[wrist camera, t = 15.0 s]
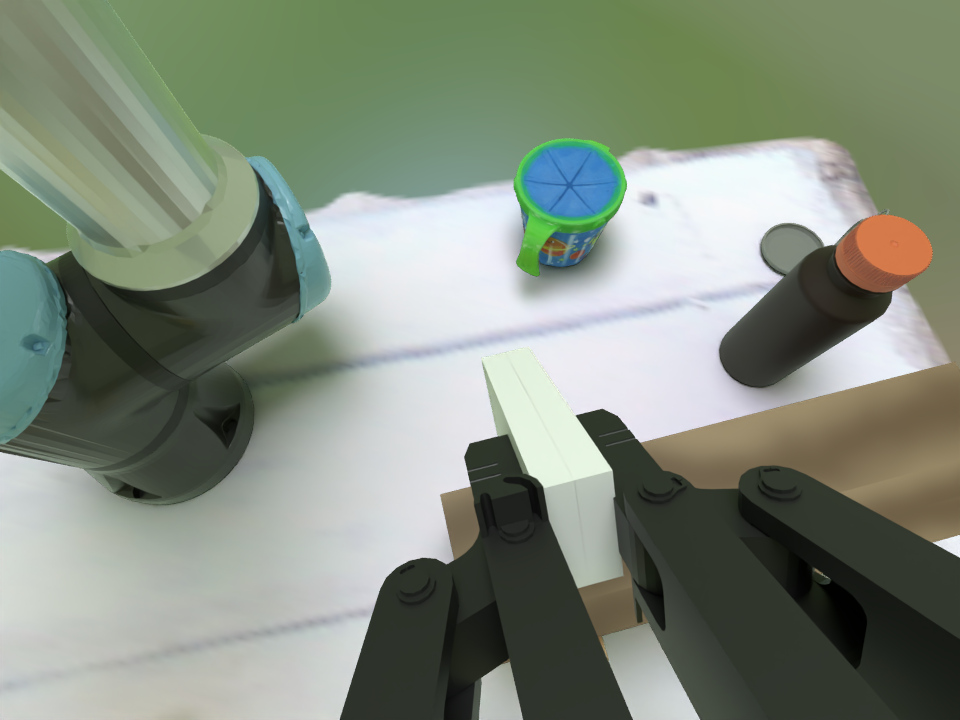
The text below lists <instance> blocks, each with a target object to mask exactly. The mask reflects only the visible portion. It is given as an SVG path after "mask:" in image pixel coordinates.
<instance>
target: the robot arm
mask: <svg viewBox="0 0 960 720" xmlns="http://www.w3.org/2000/svg"><path fill="white" fill-rule="evenodd" d="M0 169H1V170H2V171H4V172H5V173H6V174H8V175H9V176H10V177H11V178H12V179H14V180H15V181H16V182H18V183H19V184H20V185H21V186H23V187H24V188H25V189H26V190H28V191H29V192H30V193H32V194H33V195H34V196H35V197H37V198H38V199H39V200H40V201H42V202H43V203H44V204H45V205H47V206H48V207H49V208H51V209H52V210H53V211H54V212H56V213H57V214H58V215H60V216H61V217H62V218H63V219H65V220H66V221H67V237H68V242H69V246H70V248H71V251H69V252H67V253H65V254H63V255H61V256H59V257H58V258H56V259H54V260H52V261H50V262H48V263H46V264H45V263H44V262H43V261H41V260H39V259H37V258H36V257H33V256H31V255H29V254H23V253H19V252H16V251H12V250H4V251H2V252H1V251H0V452H3V453H8V454H13V455H18V456H23V457H28V458H33V459H38V460H43V461H48V462H53V463H58V464H63V465H68V466H73V467H78V468H83V469H84V470H85V471H87V472H88V473H89V474H90V475H91V476H92V477H94V478H95V479H96V480H97V481H98V482H99V483H101V484H102V485H103V486H104V487H105V488H107V489H108V490H109V491H111V492H112V493H114V494H116V495H118V496H120V497H122V498H125V499H128V500H132V501H137V502H143V503H149V504H160V505H163V504H173V503H178V502H182V501H186V500H189V499H191V498H194V497H196V496H198V495H200V494H202V493H204V492H206V491H207V490H209V489H210V488H212V487H213V486H215V485H216V484H217V483H219V482H220V481H221V480H222V479H223V478H224V477H225V476H226V475H227V474H228V473H229V472H230V471H231V470H232V469H233V467H234V466H235V465H236V464H237V462H238V461H239V459H240V458H241V456H242V454H243V452H244V451H245V448H246V446H247V444H248V442H249V439H250V436H251V432H252V427H253V420H254V408H253V401H252V397H251V394H250V391H249V389H248V387H247V385H246V383H245V382H244V380H243V379H242V377H241V376H240V375H239V374H238V373H237V372H236V371H235V370H234V369H232V368H231V367H230V366H228V365H227V364H225V363H224V362H225V361H227V360H228V359H230V358H232V357H234V356H235V355H237V354H239V353H241V352H242V351H244V350H246V349H247V348H249V347H251V346H253V345H254V344H256V343H258V342H260V341H261V340H263V339H265V338H267V337H268V336H270V335H272V334H273V333H275V332H277V331H279V330H280V329H282V328H284V327H286V326H287V325H289V324H291V323H295V322H297V321H299V320H300V319H301V318H302V317H303V315H304V314H305V313H306V312H308V311H309V310H311V309H312V308H314V307H315V306H317V305H318V304H320V303H321V302H323V301H324V300H325V299H326V297H327V296H328V294H329V292H330V289H331V276H330V271H329V268H328V265H327V262H326V259H325V256H324V254H323V251H322V249H321V247H320V244H319V242H318V240H317V238H316V236H315V234H314V233H313V231H312V230H311V229H310V227H309V223H308V221H307V219H306V216H305V214H304V212H303V210H302V208H301V206H300V205H299V203H298V201H297V199H296V198H295V196H294V194H293V193H292V191H291V189H290V188H289V186H288V185H287V183H286V181H285V180H284V179H283V177H282V176H281V174H280V173H279V172H278V171H277V170H276V168H275V167H274V166H273V164H272V163H271V162H270V161H268V160H267V159H266V158H264V157H261V156H253V157H250V158H248V157H244V156H243V155H242V154H241V153H240V152H239V151H238V150H236V149H235V148H234V147H233V146H231V145H230V144H228V143H226V142H224V141H222V140H220V139H218V138H215V137H212V136H209V135H204V134H199V132H198V131H197V129H196V128H195V126H194V125H193V123H192V122H191V121H190V119H189V118H188V116H187V115H186V113H185V112H184V110H183V109H182V108H181V106H180V105H179V103H178V102H177V101H176V99H175V98H174V96H173V95H172V93H171V92H170V90H169V89H168V88H167V86H166V85H165V83H164V82H163V80H162V79H161V78H160V76H159V74H158V73H157V72H156V70H155V69H154V67H153V66H152V64H151V63H150V61H149V60H148V59H147V57H146V56H145V54H144V53H143V51H142V50H141V49H140V47H139V46H138V44H137V43H136V41H135V40H134V38H133V37H132V35H131V34H130V33H129V31H128V30H127V28H126V27H125V26H124V24H123V23H122V21H121V20H120V18H119V17H118V15H117V14H116V12H115V11H114V9H113V8H112V7H111V5H110V4H109V3H108V1H107V0H0ZM481 359H482V364H483V369H484V374H485V378H486V383H487V388H488V393H489V397H490V402H491V407H492V412H493V417H494V421H495V426H496V431H497V435H498V437H494V438H490V439H486V440H482V441H478V442H474V443H470V444H469V447H468V449H467V452H466V454H465V456H464V458H465V462H466V467H467V471H468V476H469V480H470V485H471V489H472V493H473V498H474V508H475V512H476V516H477V520H478V524H479V534H478V537H477V539H476V541H475V543H474V544H473V546H472V547H471V548H470V549H469V550H468V551H467V552H466V553H465V554H463V555H462V556H460V557H459V558H457V559H456V560H454V561H452V562H450V563H449V564H447V565H446V564H445V563H443V562H441V561H439V560H437V559H431V558H420V559H416V560H411V561H408V562H406V563H405V564H403V565H401V566H399V567H397V568H396V569H395V570H394V571H393V572H392V573H391V574H390V575H389V576H388V577H387V578H386V579H385V581H384V583H383V585H382V587H381V589H380V591H379V595H378V598H377V601H376V604H375V607H374V611H373V614H372V617H371V620H370V624H369V627H368V630H367V633H366V636H365V640H364V643H363V646H362V649H361V653H360V656H359V659H358V662H357V665H356V669H355V672H354V675H353V678H352V682H351V685H350V688H349V691H348V694H347V698H346V701H345V704H344V707H343V711H342V714H341V717H340V720H479V707H480V694H481V677H483V676H484V675H486V674H487V673H489V672H490V671H492V670H493V669H495V668H496V667H498V666H499V665H501V664H502V663H504V662H505V661H507V660H508V659H510V663H511V668H512V672H513V677H514V681H515V685H516V690H517V694H518V699H519V703H520V707H521V712H522V716H523V720H633V719H632V717H631V714H630V712H629V710H628V707H627V705H626V702H625V700H624V698H623V695H622V693H621V690H620V688H619V686H618V683H617V681H616V679H615V676H614V674H613V671H612V669H611V667H610V664H609V662H608V659H607V657H606V655H605V652H604V650H603V648H602V645H601V643H600V640H599V638H598V636H597V633H596V631H595V628H594V626H593V624H592V621H591V619H590V617H589V614H588V612H587V609H586V607H585V605H584V602H583V600H582V597H581V595H580V593H579V590H578V588H581V587H584V586H588V585H592V584H595V583H599V582H602V581H606V580H610V579H613V578H617V577H621V576H624V575H623V565H622V558H623V560H624V562H625V564H626V566H627V567H628V569H629V571H630V573H631V579H632V589H633V600H634V610H635V616H636V620H637V623H641V622H643V619H642V611H643V613H644V615H645V617H646V618H647V620H648V622H649V624H650V626H651V628H652V630H653V632H654V634H655V635H656V637H657V639H658V641H659V643H660V645H661V647H662V649H663V650H664V652H665V654H666V656H667V658H668V660H669V662H670V664H671V665H672V667H673V669H674V671H675V673H676V675H677V677H678V679H679V681H680V682H681V684H682V686H683V688H684V690H685V692H686V694H687V696H688V697H689V699H690V701H691V703H692V705H693V707H694V709H695V711H696V712H697V714H698V716H699V718H700V720H960V558H959V557H957V556H956V555H954V554H952V553H950V552H948V551H946V550H944V549H943V548H941V547H939V546H937V545H935V544H933V543H932V542H930V541H928V540H926V539H924V538H922V537H921V536H919V535H917V534H915V533H913V532H911V531H910V530H908V529H906V528H904V527H902V526H900V525H898V524H897V523H895V522H893V521H891V520H889V519H887V518H886V517H884V516H882V515H880V514H878V513H876V512H875V511H873V510H871V509H869V508H867V507H865V506H864V505H862V504H860V503H858V502H856V501H854V500H852V499H851V498H849V497H847V496H845V495H843V494H841V493H840V492H838V491H836V490H834V489H832V488H830V487H829V486H827V485H825V484H823V483H821V482H819V481H818V480H816V479H814V478H812V477H810V476H808V475H806V474H804V473H802V472H799V471H797V470H794V469H792V468H787V467H782V466H776V465H772V466H759V467H755V468H752V469H749V470H747V471H746V472H745V473H744V474H742V475H741V477H740V480H739V484H738V488H737V489H700V488H695V487H694V486H693V485H692V484H691V483H690V482H689V481H688V480H686V479H685V478H684V477H683V476H681V475H678V474H675V473H673V472H670V471H663V470H662V469H661V467H660V466H659V465H658V464H657V463H656V461H655V460H654V459H653V458H652V457H651V455H650V454H649V453H648V452H647V451H646V449H645V448H644V447H643V446H642V445H641V443H640V442H639V441H638V440H637V439H635V436H634V435H633V434H632V433H631V431H630V430H628V429H627V427H626V425H625V424H624V423H623V422H622V421H621V419H620V418H619V417H618V416H616V415H614V414H612V413H610V412H608V411H606V410H604V409H600V410H596V411H592V412H588V413H584V414H580V415H576V416H575V414H574V413H573V411H572V410H571V408H570V407H569V405H568V404H567V402H566V401H565V399H564V398H563V397H562V395H561V394H560V392H559V391H558V389H557V388H556V386H555V385H554V383H553V382H552V380H551V379H550V377H549V376H548V374H547V373H546V371H545V370H544V368H543V367H542V365H541V364H540V363H539V361H538V360H537V358H536V357H535V355H534V354H533V352H532V351H531V349H530V348H529V347H525V348H521V349H517V350H513V351H509V352H505V353H500V354H496V355H492V356H488V357H484V358H481ZM815 568H816V569H817V570H818V571H820V572H821V573H823V574H824V575H826V576H827V577H828V578H830V579H828V578H826V577H824V576H822V575H820V574H819V573H817V572H816V571H815Z"/></svg>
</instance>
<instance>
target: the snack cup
mask: <svg viewBox="0 0 960 720" xmlns="http://www.w3.org/2000/svg"><path fill="white" fill-rule="evenodd" d="M609 150H610V148H608V147H606V146H605V145H603V144H600V143H598V142H595V141H592V140H587V141H584V140H579V139H557V140H553V141H549V142H546V143H544V144H541V145H539V146H537V147H536V148H534V149H533V150H532V151H530V152H529V153H528V154H527V155H526V156H525V157H524V158H523V160H522V162H521V163H520V165H519V168H518V170H517V174H516V177H515V178H514V190H515V193H516V196H517V199H518V202H519V204H520V207H521V213H522V219H523V228H524V238H523V242H522V246H521V251H520V254H519V256H518V258H517V260H516V263H517V266H518V267H519V268H521V269H522V270H523V271H525V272H527V273H529V274H531V275H533V276H539V275H540V272H539V261H540V263H542V264H545V265H551V266H558V267H566V266H569V265H576V264H577V263H579V262H580V261H581V260H582V259H583V258H585V257H586V256H587V255H588V253H589V252H590V251H591V249H592V248H593V246H594V244H595V243H596V241H597V239H598V238H599V236H600V234H601V233H602V231H603V229H604V227H605V226H606V224H607V222H608V221H609V220H610V219H611V218H612V217H613V216H614V215H615V214H616V212H617V211H618V209H619V207H620V205H621V203H622V201H623V198H624V194H625V191H626V189H627V181H626V179H625V175H624V172H623V169H622V167H621V166H620V164H619V162H618V161H617V160H616V158H615V157H614V156H613V155H612V154H611V153H609Z"/></svg>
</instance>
